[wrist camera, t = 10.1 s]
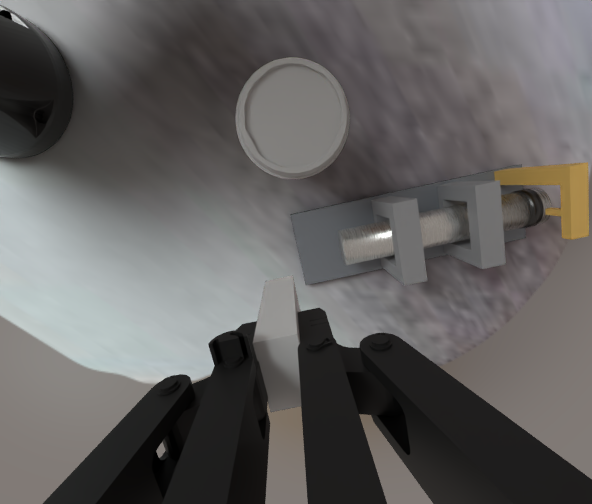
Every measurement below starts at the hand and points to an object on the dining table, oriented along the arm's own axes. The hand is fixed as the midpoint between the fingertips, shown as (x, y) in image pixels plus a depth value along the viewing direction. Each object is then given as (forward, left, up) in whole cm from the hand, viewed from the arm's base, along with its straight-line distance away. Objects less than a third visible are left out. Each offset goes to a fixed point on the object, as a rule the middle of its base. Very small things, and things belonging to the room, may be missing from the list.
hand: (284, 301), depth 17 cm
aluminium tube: (+17, -2, -20) cm, 26 cm away
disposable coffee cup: (+3, +11, -23) cm, 25 cm away
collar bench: (+15, -2, -22) cm, 27 cm away
